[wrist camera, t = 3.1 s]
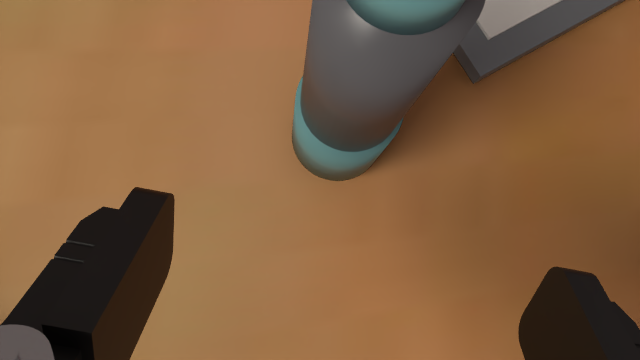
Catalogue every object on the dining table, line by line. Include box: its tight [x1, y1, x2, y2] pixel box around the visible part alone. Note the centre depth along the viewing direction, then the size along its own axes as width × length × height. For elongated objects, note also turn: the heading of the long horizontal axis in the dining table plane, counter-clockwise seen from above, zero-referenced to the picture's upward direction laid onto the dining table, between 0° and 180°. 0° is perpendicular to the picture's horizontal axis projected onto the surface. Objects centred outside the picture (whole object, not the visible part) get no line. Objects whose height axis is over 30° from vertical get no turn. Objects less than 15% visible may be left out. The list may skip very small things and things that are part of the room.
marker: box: [292, 0, 485, 181], centre depth 18 cm, size 5×5×16 cm
